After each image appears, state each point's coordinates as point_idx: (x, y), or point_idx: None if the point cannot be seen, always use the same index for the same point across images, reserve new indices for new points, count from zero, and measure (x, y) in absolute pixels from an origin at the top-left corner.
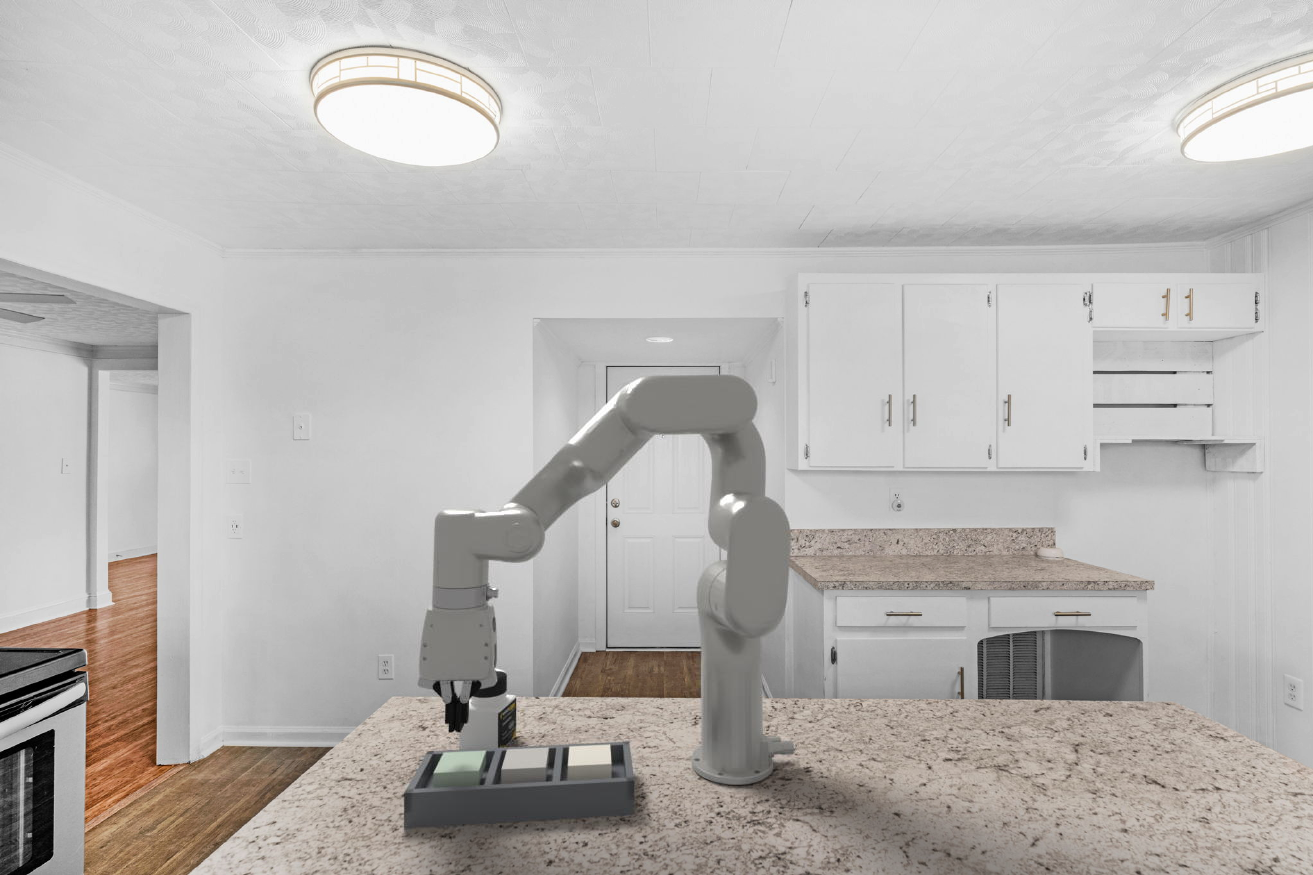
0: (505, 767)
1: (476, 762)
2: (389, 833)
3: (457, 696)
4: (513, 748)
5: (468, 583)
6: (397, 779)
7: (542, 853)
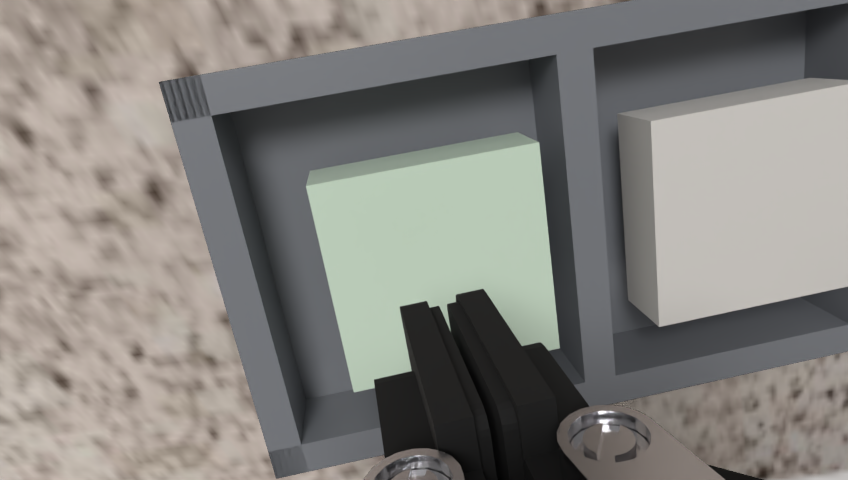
0: (674, 307)
1: (525, 274)
2: (254, 425)
3: (475, 427)
4: (651, 18)
5: None
6: (34, 57)
7: (740, 448)
